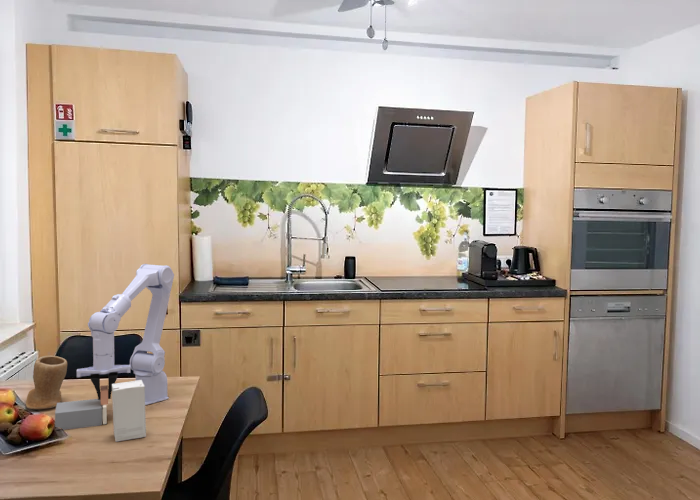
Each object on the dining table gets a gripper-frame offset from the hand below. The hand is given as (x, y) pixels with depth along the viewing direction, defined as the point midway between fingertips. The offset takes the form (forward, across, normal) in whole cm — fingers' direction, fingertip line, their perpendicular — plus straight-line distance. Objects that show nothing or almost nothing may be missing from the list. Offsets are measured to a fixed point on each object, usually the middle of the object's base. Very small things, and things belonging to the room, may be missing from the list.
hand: (104, 398), depth 175 cm
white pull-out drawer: (+6, -5, 0) cm, 8 cm away
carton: (+6, -7, 0) cm, 9 cm away
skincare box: (+7, +6, -15) cm, 18 cm away
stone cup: (+7, -16, +20) cm, 27 cm away
